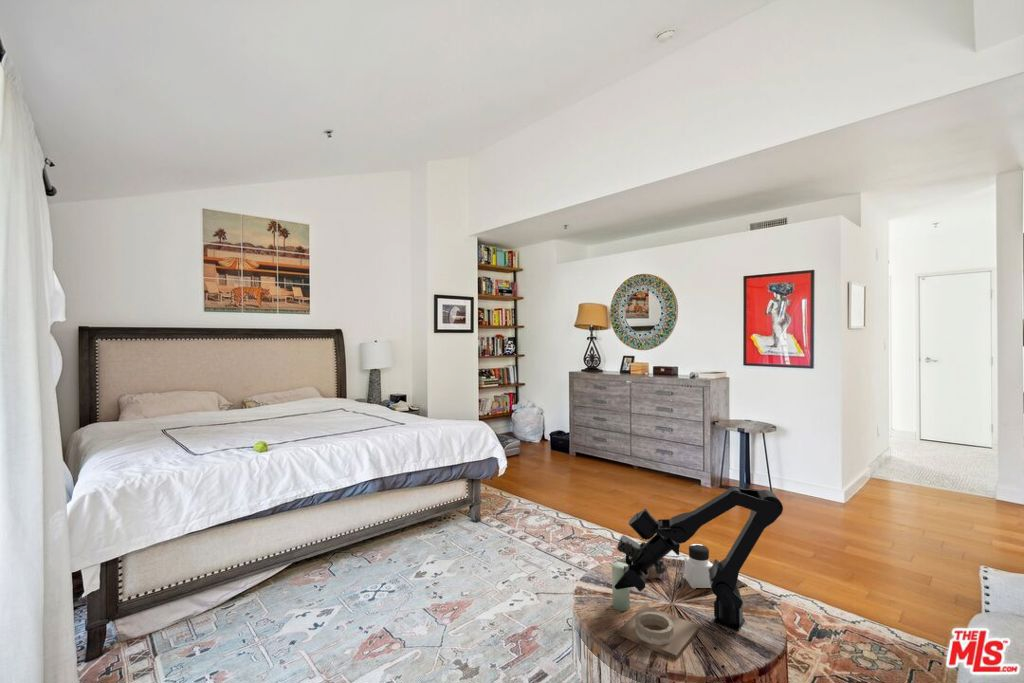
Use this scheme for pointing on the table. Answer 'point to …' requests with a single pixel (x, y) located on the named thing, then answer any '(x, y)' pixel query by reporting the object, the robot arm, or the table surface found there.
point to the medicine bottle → (698, 566)
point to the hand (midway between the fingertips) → (616, 583)
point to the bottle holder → (659, 631)
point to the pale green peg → (621, 595)
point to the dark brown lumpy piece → (656, 571)
